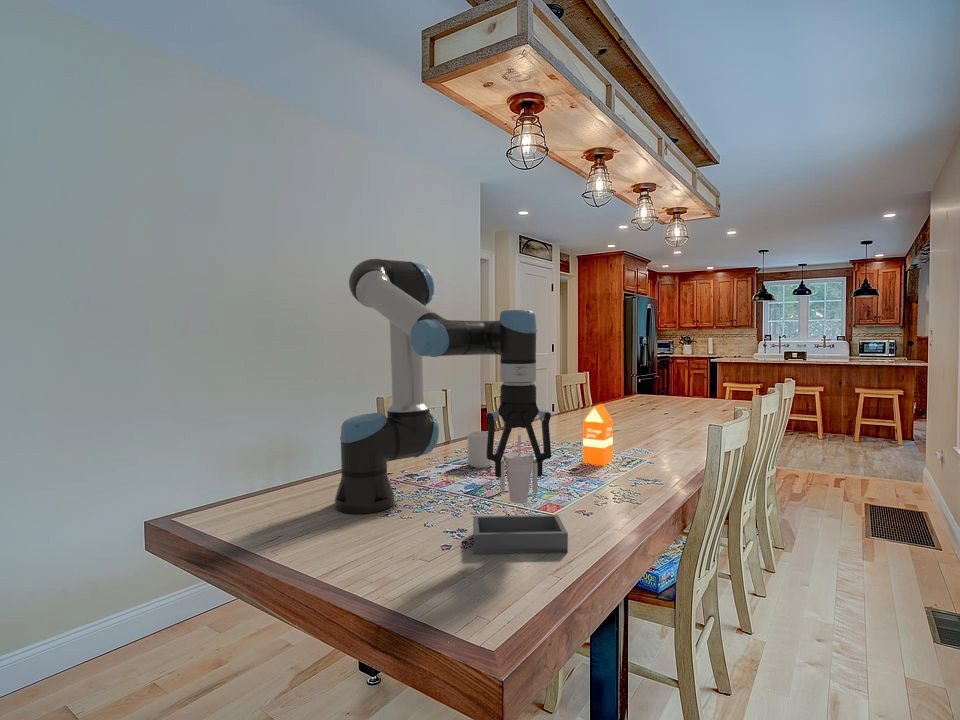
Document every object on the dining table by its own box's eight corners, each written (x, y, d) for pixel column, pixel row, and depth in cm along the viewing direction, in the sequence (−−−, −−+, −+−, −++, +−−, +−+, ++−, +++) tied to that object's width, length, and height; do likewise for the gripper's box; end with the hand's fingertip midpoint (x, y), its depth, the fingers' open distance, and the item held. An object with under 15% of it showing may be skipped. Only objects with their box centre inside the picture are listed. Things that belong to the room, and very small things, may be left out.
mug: (462, 466, 179) (462, 434, 178) (477, 461, 186) (477, 430, 185) (491, 472, 171) (491, 438, 171) (506, 466, 179) (506, 433, 178)
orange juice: (612, 460, 187) (613, 404, 186) (604, 465, 179) (604, 407, 178) (591, 457, 191) (591, 402, 190) (582, 462, 183) (582, 405, 182)
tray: (473, 533, 118) (473, 516, 118) (557, 532, 119) (557, 514, 118) (474, 554, 107) (474, 534, 107) (567, 552, 108) (567, 533, 107)
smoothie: (509, 506, 108) (508, 438, 108) (499, 497, 114) (499, 433, 114) (538, 503, 110) (538, 437, 109) (527, 495, 116) (527, 431, 116)
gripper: (473, 385, 107) (474, 498, 108) (567, 384, 108) (567, 496, 109) (472, 382, 115) (473, 487, 116) (560, 381, 115) (560, 486, 116)
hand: (518, 491), depth 112 cm, fingers closed on smoothie, 6 cm apart
